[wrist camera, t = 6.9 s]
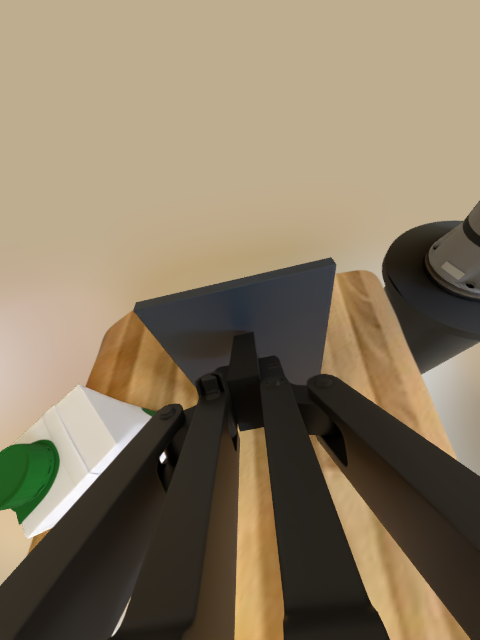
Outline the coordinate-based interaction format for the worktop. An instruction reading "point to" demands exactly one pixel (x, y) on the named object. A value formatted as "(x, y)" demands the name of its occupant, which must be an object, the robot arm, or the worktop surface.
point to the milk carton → (65, 455)
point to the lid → (248, 320)
